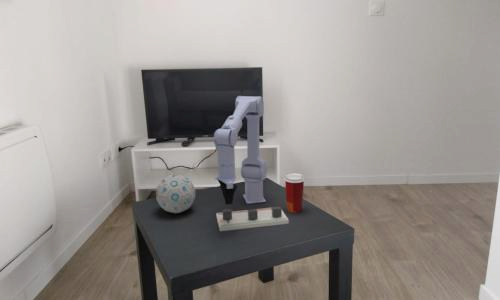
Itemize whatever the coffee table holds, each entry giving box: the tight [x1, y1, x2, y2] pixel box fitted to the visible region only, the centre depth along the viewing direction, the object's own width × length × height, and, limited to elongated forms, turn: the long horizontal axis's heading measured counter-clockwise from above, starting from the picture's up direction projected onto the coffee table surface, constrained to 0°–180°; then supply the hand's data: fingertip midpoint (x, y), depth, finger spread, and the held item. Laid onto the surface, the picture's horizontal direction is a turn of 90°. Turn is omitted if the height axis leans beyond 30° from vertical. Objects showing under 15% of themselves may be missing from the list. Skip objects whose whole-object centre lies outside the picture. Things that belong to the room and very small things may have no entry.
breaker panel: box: [215, 207, 290, 232], centre depth 139 cm, size 12×25×2 cm, turn 101°
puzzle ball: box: [155, 173, 196, 214], centre depth 147 cm, size 15×15×15 cm
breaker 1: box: [221, 208, 233, 220], centre depth 137 cm, size 2×3×3 cm, turn 101°
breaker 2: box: [247, 208, 258, 220], centre depth 136 cm, size 2×3×3 cm, turn 101°
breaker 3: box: [271, 206, 283, 217], centre depth 138 cm, size 2×3×3 cm, turn 101°
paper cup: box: [283, 172, 306, 214], centre depth 146 cm, size 8×8×14 cm
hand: (228, 201), depth 131 cm, fingers open, 4 cm apart
